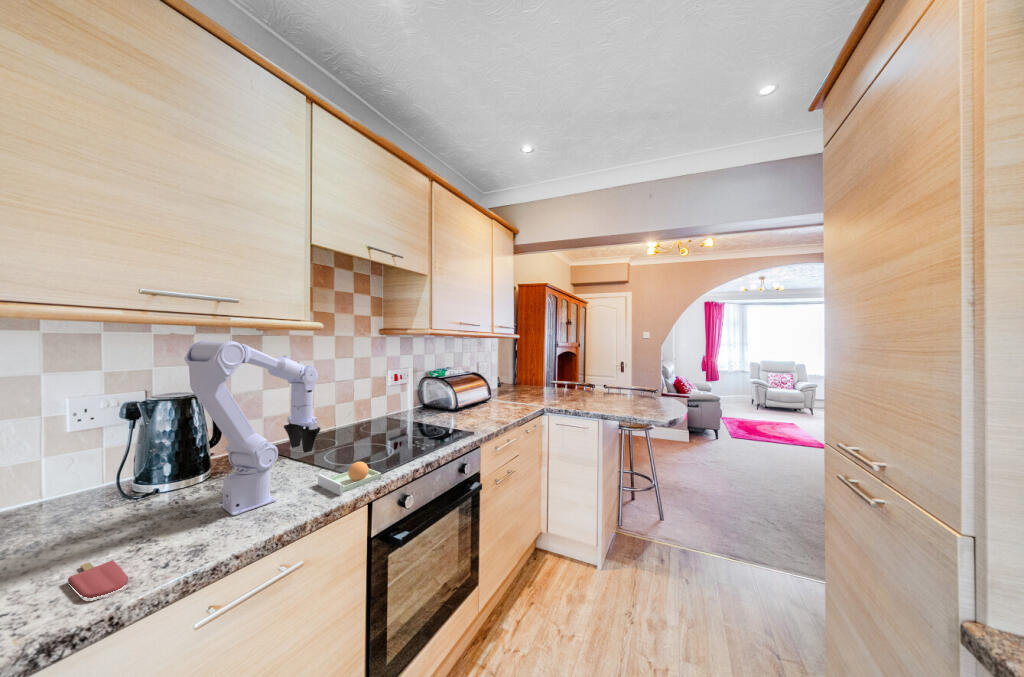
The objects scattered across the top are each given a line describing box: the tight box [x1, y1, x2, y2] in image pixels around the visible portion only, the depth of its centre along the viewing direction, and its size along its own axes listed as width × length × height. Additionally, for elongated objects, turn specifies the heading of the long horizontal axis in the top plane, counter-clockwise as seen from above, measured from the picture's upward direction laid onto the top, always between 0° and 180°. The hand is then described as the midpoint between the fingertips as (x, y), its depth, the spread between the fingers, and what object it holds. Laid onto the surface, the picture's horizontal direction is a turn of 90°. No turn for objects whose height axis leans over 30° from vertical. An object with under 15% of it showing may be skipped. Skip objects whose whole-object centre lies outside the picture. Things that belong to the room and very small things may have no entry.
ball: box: [347, 461, 369, 481], centre depth 102 cm, size 6×6×6 cm
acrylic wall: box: [317, 473, 344, 496], centre depth 97 cm, size 1×12×3 cm, turn 57°
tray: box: [329, 467, 382, 493], centre depth 103 cm, size 12×9×2 cm
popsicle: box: [67, 560, 129, 598], centre depth 60 cm, size 5×2×15 cm
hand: (301, 449), depth 103 cm, fingers open, 7 cm apart
